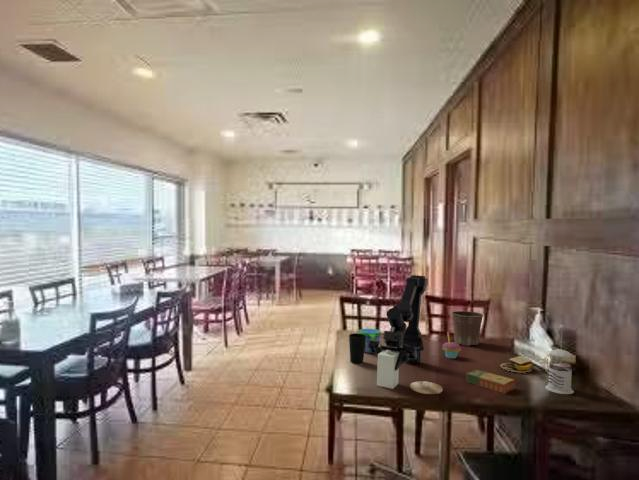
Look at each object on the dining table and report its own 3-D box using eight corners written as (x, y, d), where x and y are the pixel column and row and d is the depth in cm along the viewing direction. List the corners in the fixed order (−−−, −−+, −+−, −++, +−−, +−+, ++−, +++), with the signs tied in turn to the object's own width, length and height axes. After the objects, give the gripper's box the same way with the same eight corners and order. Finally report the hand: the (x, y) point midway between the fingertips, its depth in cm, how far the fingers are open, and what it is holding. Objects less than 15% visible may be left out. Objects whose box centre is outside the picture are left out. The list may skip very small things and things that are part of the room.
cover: (382, 380, 177) (383, 347, 177) (398, 383, 174) (399, 349, 174) (376, 385, 171) (377, 351, 171) (392, 388, 168) (394, 353, 168)
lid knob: (427, 385, 172) (427, 381, 171) (431, 387, 169) (431, 383, 169) (421, 386, 171) (421, 381, 170) (425, 388, 168) (425, 384, 168)
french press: (561, 395, 166) (564, 328, 166) (535, 385, 177) (537, 321, 176) (580, 392, 170) (582, 326, 170) (553, 382, 181) (555, 320, 180)
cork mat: (429, 381, 178) (429, 380, 178) (449, 392, 167) (449, 390, 167) (403, 384, 173) (403, 383, 173) (422, 395, 162) (422, 394, 162)
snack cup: (357, 347, 227) (357, 326, 227) (378, 347, 227) (378, 327, 227) (360, 355, 212) (360, 334, 211) (382, 356, 212) (383, 334, 211)
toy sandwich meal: (494, 366, 202) (494, 355, 201) (520, 364, 204) (521, 354, 204) (512, 375, 189) (512, 364, 189) (540, 373, 192) (540, 362, 192)
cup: (364, 365, 197) (365, 338, 196) (347, 363, 198) (347, 336, 198) (366, 360, 204) (366, 334, 204) (349, 358, 206) (350, 332, 205)
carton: (504, 395, 166) (504, 383, 166) (465, 383, 178) (465, 372, 178) (515, 390, 171) (515, 379, 171) (476, 378, 184) (476, 368, 184)
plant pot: (445, 339, 248) (446, 310, 247) (473, 339, 249) (475, 310, 249) (458, 347, 231) (459, 316, 231) (488, 347, 233) (489, 316, 233)
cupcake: (440, 358, 211) (441, 332, 211) (443, 353, 219) (443, 329, 219) (459, 360, 208) (460, 334, 208) (461, 356, 216) (462, 331, 215)
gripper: (370, 319, 180) (358, 353, 170) (416, 325, 171) (406, 361, 162) (376, 335, 187) (366, 368, 178) (421, 341, 178) (412, 377, 169)
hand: (386, 368), depth 171 cm, fingers closed on cover, 6 cm apart
